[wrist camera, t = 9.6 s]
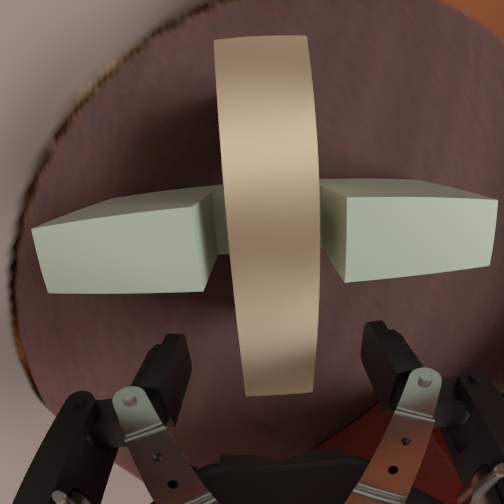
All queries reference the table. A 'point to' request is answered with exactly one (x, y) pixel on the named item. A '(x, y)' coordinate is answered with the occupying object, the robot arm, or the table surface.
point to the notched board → (216, 241)
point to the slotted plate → (271, 206)
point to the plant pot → (432, 466)
